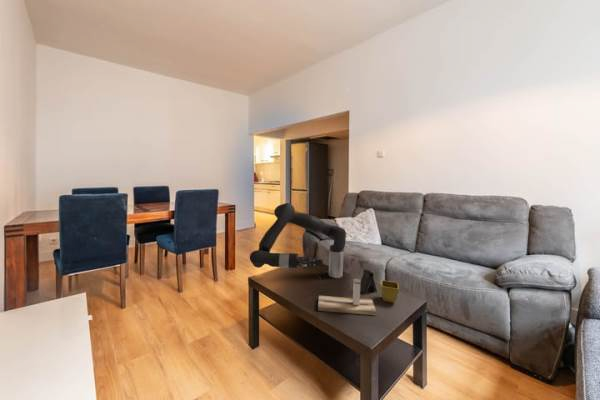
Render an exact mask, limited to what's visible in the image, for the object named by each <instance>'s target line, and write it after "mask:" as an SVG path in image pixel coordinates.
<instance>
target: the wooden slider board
mask: <svg viewBox="0 0 600 400" xmlns="http://www.w3.org/2000/svg"><path fill="white" fill-rule="evenodd" d="M317 306H318V307H317V311H318V312H332V313H345V314H355V315H367V316H369V315H370V316H377V309H376V306H375V304H374V301H373V299H372V298H371V299H370V298H369V299H368V298H360V303H359V305H353V297H341V296H333V295H331V296H330V295H329V296H328V295H318V303H317Z"/></svg>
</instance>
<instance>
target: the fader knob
mask: <svg viewBox="0 0 600 400" xmlns="http://www.w3.org/2000/svg"><path fill="white" fill-rule="evenodd" d="M352 280H353V281H352V282H353V284H352V286H353V287H352V298H353V305H359V303H360V299H361V291H360V284H361V279H360V278H353V279H352Z"/></svg>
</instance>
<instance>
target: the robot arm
mask: <svg viewBox="0 0 600 400" xmlns="http://www.w3.org/2000/svg"><path fill="white" fill-rule="evenodd" d="M273 213H274V215H275V218H276V220H275V221H274V222H273V224H272V225H270V227H269V228H268V229H267V231H266V232H265V233H264V234H263V236H262V237H261V239H260V242H259V244H258V250H253V251H252V252H251V253H250V254H249V261H250V262H251V264H252V266H253V267H255V268H258V269H260V268H262V267H263V266H264V265H268V266H269V267H273V268H274V267H275V268H283V269H298V267H299V266H300V267H302V268H304V269H307V268H311V267H314V266H317V265H320V266H321V265H323V262H324V261H323V259H318V258H317V259H316V258H315V257H313V256H310V255H307V254H305V256H303V255H302V256H300V255H299V254H298V253H297V252H296V253H294V252H293V253H291V252H290V253H289V252H282V253H281V252H271V250H272V248H273V246H274V245H275V242H276V241H277V240H278V238H279V236H280V234H281V233H282V231H283V230H284V229H285V227H286V225H287V224H288V223H291V224H293V225H295V226H298V227H300V228H303V229H306V230H308V231H311V232H313V233H318V234H322V235H324V236H326V237H328V238H330V239H331V240H332V241H333V244H331V245H330V246H329V257H328V259H329V261H328V276H329V277H330V278H334V279H340V278H342V277H343V272H344V271H343V270H344V269H343V267H344V251H345V250H344V249H345V246H346V240H347V239H346V238H347V233H346V229H345V228H343V227H342V226H341V227H340V226H338V225H333V224H329V223H326V222H325V221H324V220H321V219H320V217H319V218H318V217H317V216H314V215H311V214H308V213H303V212H302V213H301V212H296V211H295V207H294V205H293V204H292V203H289V202H286V203H283V204H282V203H281V204H280V205H278V206H276V207H275V209H274V212H273Z"/></svg>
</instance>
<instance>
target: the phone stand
mask: <svg viewBox="0 0 600 400" xmlns="http://www.w3.org/2000/svg"><path fill="white" fill-rule="evenodd" d="M362 272H363V274H362V277H361V279H360V282H361V284H360V293H362V294H365V295H366V294H367V295H368V294H373V293H377V292H378V290H377V287H376V282H375V278H374V273H373V272H372V271H370V270H368V269H367V268H366V269H364V270H363V271H362Z"/></svg>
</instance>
